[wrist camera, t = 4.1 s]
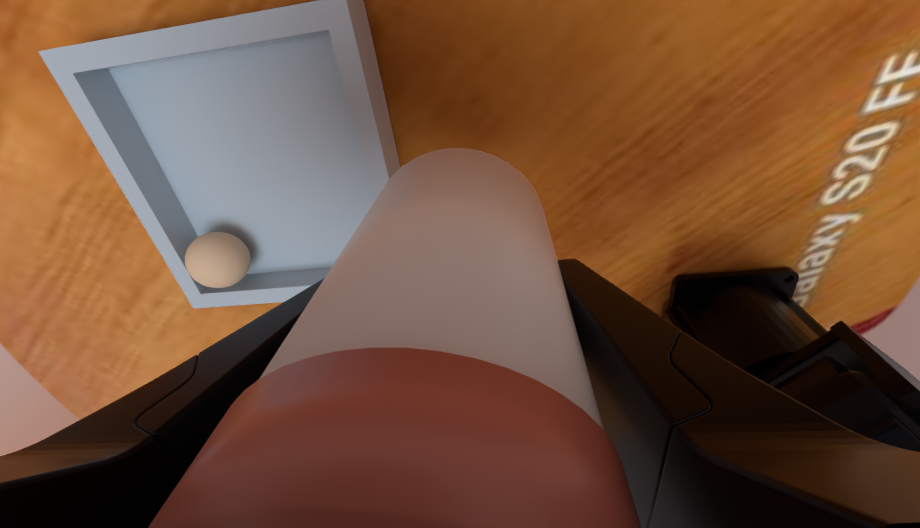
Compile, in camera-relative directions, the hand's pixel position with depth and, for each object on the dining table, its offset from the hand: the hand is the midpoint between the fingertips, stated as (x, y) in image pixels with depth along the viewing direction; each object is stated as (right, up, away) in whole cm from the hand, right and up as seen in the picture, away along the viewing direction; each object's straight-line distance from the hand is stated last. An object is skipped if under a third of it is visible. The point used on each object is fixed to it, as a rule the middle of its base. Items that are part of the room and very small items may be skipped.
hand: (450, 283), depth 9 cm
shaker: (0, +1, +2) cm, 2 cm away
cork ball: (-13, +2, +14) cm, 20 cm away
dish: (-10, +6, +12) cm, 17 cm away
